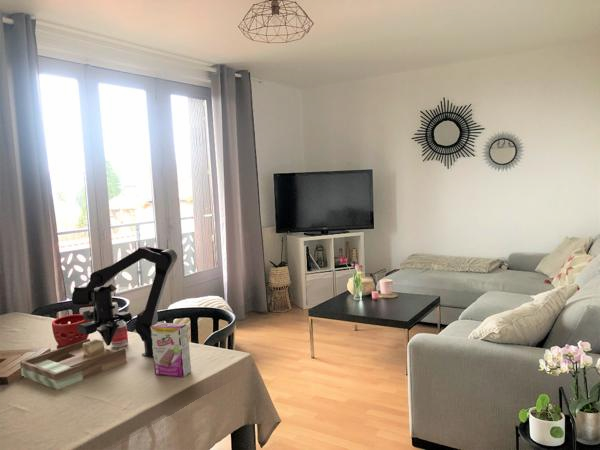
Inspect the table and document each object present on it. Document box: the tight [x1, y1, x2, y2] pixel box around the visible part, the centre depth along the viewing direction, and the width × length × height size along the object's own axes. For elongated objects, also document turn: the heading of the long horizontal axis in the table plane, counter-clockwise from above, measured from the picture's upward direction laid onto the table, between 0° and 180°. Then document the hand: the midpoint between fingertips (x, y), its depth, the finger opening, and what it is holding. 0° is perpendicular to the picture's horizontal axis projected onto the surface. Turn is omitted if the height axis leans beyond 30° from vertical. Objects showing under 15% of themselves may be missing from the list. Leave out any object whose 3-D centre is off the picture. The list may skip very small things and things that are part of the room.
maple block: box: [83, 338, 105, 357], centre depth 177 cm, size 5×5×4 cm
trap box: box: [19, 338, 128, 391], centre depth 171 cm, size 23×25×5 cm
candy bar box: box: [150, 321, 192, 378], centre depth 161 cm, size 11×5×16 cm, turn 71°
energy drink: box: [112, 301, 120, 315], centre depth 212 cm, size 5×5×12 cm
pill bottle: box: [110, 320, 129, 348], centre depth 193 cm, size 6×6×11 cm
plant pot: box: [51, 313, 90, 350], centre depth 192 cm, size 13×13×12 cm
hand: (108, 345), depth 182 cm, fingers closed
